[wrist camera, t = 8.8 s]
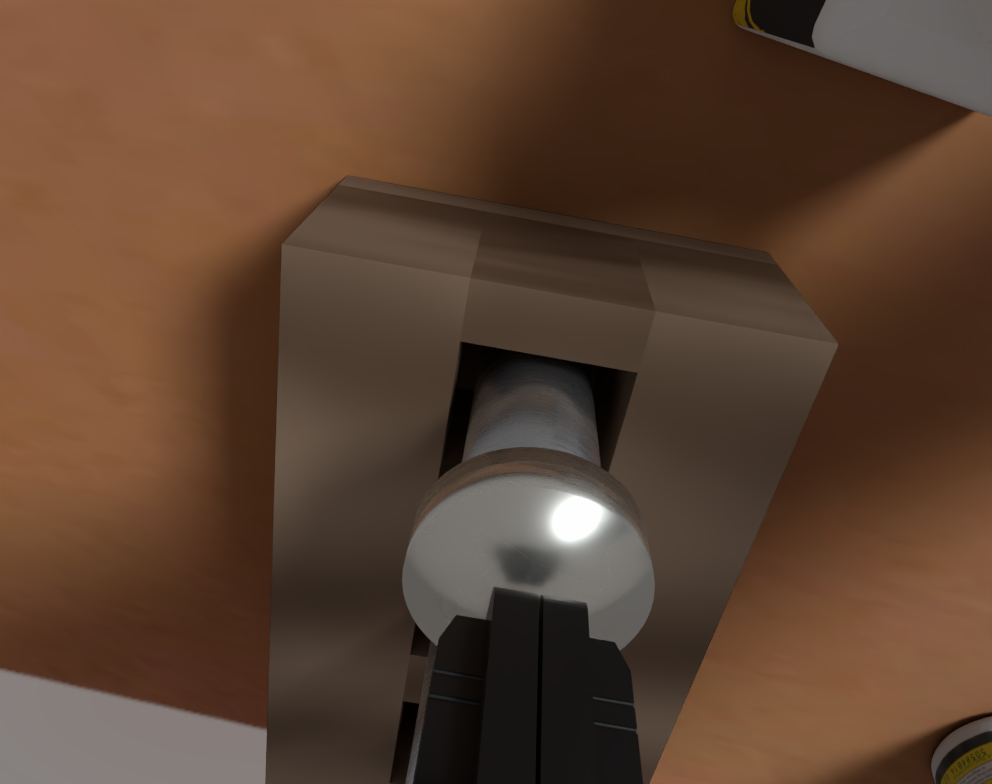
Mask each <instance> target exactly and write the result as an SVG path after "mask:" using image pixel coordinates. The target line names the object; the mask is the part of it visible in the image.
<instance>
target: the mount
mask: <svg viewBox="0 0 992 784" xmlns="http://www.w3.org/2000/svg"><path fill="white" fill-rule="evenodd" d="M482 345H484V346H490V347H495V348H501V349H506V350H512V351H518V352H523V353H529V354H535V355H540V356H546V357H552V358H557V359H563V360H569V361H574V362H580V363H586V364H590V369H591V379H592V388H593V398H594V407H595V416H596V426H597V435H598V444H599V454H600V463H601V468H602V469H604V470H605V471H607V472H609V473H610V474H611V475H612V476H613V477H615V478H616V479H617V480H618V481H619V482H620V483H621V484H622V485H623V486H624V487H625V488H626V489H627V490H628V491H629V493H630V494H631V495H632V497H633V498H634V500H635V502H636V503H637V505H638V507H639V509H640V511H641V514H642V516H643V519H644V523H645V527H646V532H647V537H648V543H649V549H650V555H651V560H652V566H653V572H654V581H655V591H654V600H653V604H652V607H651V611H650V613H649V615H648V618H647V620H646V622H645V624H644V625H643V627H642V628H641V629H640V631H639V632H638V634H637V635H636V636H635V637H634V638H633V639H632V640H631V641H630V643H629V644H627V645H626V646H625V647H624V648H623V649H621V650H620V652H621V654H622V656H623V658H624V659H625V661H626V663H627V665H628V667H629V669H630V670H631V677H632V686H633V695H634V708H635V713H636V722H637V730H636V734H638V741H639V750H640V759H641V768H642V777H643V784H649V783H650V780H651V778H652V776H653V774H654V771H655V769H656V767H657V764H658V762H659V760H660V757H661V755H662V753H663V750H664V748H665V746H666V743H667V741H668V739H669V737H670V734H671V732H672V730H673V727H674V725H675V723H676V720H677V718H678V716H679V713H680V711H681V709H682V706H683V704H684V702H685V699H686V697H687V695H688V693H689V690H690V688H691V686H692V683H693V681H694V679H695V676H696V674H697V672H698V669H699V667H700V665H701V662H702V660H703V658H704V655H705V653H706V651H707V649H708V646H709V644H710V642H711V639H712V637H713V635H714V632H715V630H716V628H717V625H718V623H719V621H720V618H721V616H722V614H723V611H724V609H725V607H726V605H727V602H728V600H729V598H730V595H731V593H732V591H733V588H734V586H735V584H736V581H737V579H738V577H739V574H740V572H741V570H742V567H743V565H744V563H745V561H746V558H747V556H748V554H749V551H750V549H751V547H752V544H753V542H754V540H755V537H756V535H757V533H758V530H759V528H760V526H761V523H762V521H763V519H764V517H765V514H766V512H767V510H768V507H769V505H770V503H771V500H772V498H773V496H774V493H775V491H776V489H777V486H778V484H779V482H780V480H781V477H782V475H783V473H784V470H785V468H786V466H787V463H788V461H789V459H790V456H791V454H792V452H793V449H794V447H795V445H796V442H797V440H798V438H799V436H800V433H801V431H802V429H803V426H804V424H805V422H806V419H807V417H808V415H809V412H810V410H811V408H812V405H813V403H814V401H815V398H816V396H817V394H818V392H819V389H820V387H821V385H822V382H823V380H824V378H825V375H826V373H827V371H828V368H829V366H830V364H831V361H832V359H833V357H834V354H835V352H836V350H837V348H838V345H839V344H838V342H837V341H836V340H835V338H834V337H833V336H832V334H831V333H830V332H829V331H828V329H827V328H826V327H825V325H824V324H823V323H822V322H821V320H820V319H819V318H818V316H817V315H816V314H815V312H814V311H813V310H812V309H811V307H810V306H809V305H808V303H807V302H806V301H805V299H804V298H803V297H802V296H801V294H800V293H799V292H798V290H797V289H796V288H795V286H794V285H793V284H792V283H791V281H790V280H789V279H788V277H787V276H786V275H785V273H784V272H783V271H782V270H781V268H780V267H779V266H778V264H777V263H776V262H775V261H774V259H773V258H772V257H771V255H770V254H769V253H768V252H763V251H757V250H752V249H746V248H741V247H735V246H730V245H724V244H719V243H713V242H708V241H702V240H697V239H692V238H686V237H681V236H675V235H670V234H664V233H659V232H653V231H648V230H642V229H637V228H631V227H626V226H620V225H615V224H609V223H604V222H598V221H593V220H588V219H582V218H577V217H571V216H566V215H560V214H555V213H549V212H544V211H538V210H533V209H527V208H522V207H516V206H511V205H505V204H500V203H494V202H489V201H484V200H478V199H473V198H467V197H462V196H456V195H451V194H445V193H440V192H434V191H429V190H423V189H418V188H412V187H407V186H401V185H396V184H390V183H385V182H380V181H374V180H369V179H363V178H358V177H352V176H346V177H345V178H344V179H343V180H342V181H341V182H340V184H339V185H338V186H337V187H336V188H335V189H334V190H333V191H332V192H331V193H330V194H329V195H328V196H327V197H326V198H325V199H324V200H323V201H322V202H321V203H320V204H319V206H318V207H317V208H316V209H315V210H314V211H313V212H312V213H311V214H310V215H309V216H308V217H307V218H306V219H305V220H304V221H303V222H302V223H301V224H300V225H299V227H298V228H297V229H296V230H295V231H294V232H293V233H292V234H291V235H290V236H289V237H288V238H287V239H286V240H285V241H284V242H283V243H282V250H281V284H280V317H279V350H278V384H277V417H276V450H275V484H274V517H273V550H272V584H271V617H270V650H269V684H268V717H267V752H266V784H405V782H406V776H407V771H408V765H409V759H410V753H411V748H412V742H413V736H414V730H415V725H416V719H417V713H418V707H419V704H420V698H421V693H422V687H423V681H424V675H425V669H426V664H427V658H428V652H429V646H430V641H431V640H430V639H429V638H428V637H427V636H426V635H425V634H424V633H423V632H422V630H421V629H420V628H419V627H418V625H417V624H416V622H415V621H414V619H413V618H412V616H411V614H410V611H409V609H408V607H407V604H406V601H405V598H404V594H403V586H402V573H403V566H404V562H405V557H406V553H407V549H408V545H409V541H410V537H411V532H412V528H413V524H414V520H415V516H416V512H417V510H418V508H419V505H420V503H421V501H422V499H423V498H424V496H425V495H426V493H427V491H428V490H429V489H430V488H431V487H432V486H433V484H434V483H435V482H436V481H437V480H438V479H439V478H440V477H442V476H443V475H444V474H445V473H446V472H447V471H449V470H451V469H452V468H454V467H455V466H457V465H458V464H460V463H462V459H463V454H464V448H465V442H466V436H467V430H468V424H469V419H470V413H471V407H472V401H473V395H474V390H475V384H476V378H477V372H478V366H479V360H480V355H481V349H482Z"/></svg>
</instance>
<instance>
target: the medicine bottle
mask: <svg viewBox="0 0 992 784" xmlns="http://www.w3.org/2000/svg"><path fill="white" fill-rule="evenodd" d="M732 17H733V20H734V22H735V24H736V25H737V26H739V27H740V28H742V29H745V30H747V31H750V32H753V33H756V34H759V35H762V36H764V37H767V38H770V39H773V40H776V41H778V42H781V43H784V44H787V45H790V46H793V47H795V48H798V49H801V50H804V51H807V52H809V53H812V54H815V55H818V56H821V57H824V58H826V59H829V60H832V61H835V62H838V63H840V64H843V65H846V66H849V67H852V68H855V69H857V70H860V71H863V72H866V73H869V74H871V75H874V76H877V77H880V78H883V79H886V80H888V81H891V82H894V83H897V84H900V85H902V86H905V87H908V88H911V89H914V90H917V91H919V92H922V93H925V94H928V95H931V96H933V97H936V98H939V99H942V100H945V101H948V102H950V103H953V104H956V105H959V106H962V107H964V108H967V109H970V110H973V111H976V112H979V113H982V114H984V115H987V116H990V117H992V0H736V2H735V5H734V8H733V14H732Z"/></svg>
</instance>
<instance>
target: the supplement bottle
mask: <svg viewBox="0 0 992 784" xmlns="http://www.w3.org/2000/svg"><path fill="white" fill-rule="evenodd" d="M931 770H932V775H933V778H934V780H935V783H936V784H992V716H991V717H986V718H983V719H980V720H976V721H974V722H971V723H969V724H966V725H964V726H962V727H960V728H959V729H957V730H955V731H954V732H952V733H951V734H949V735H948V736H947V737H946V738H945V739H944V740H943V741H942V742H941V743H940V744H939V746H938V747H937V749H936V751H935V752H934V755H933V758H932V762H931Z"/></svg>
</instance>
